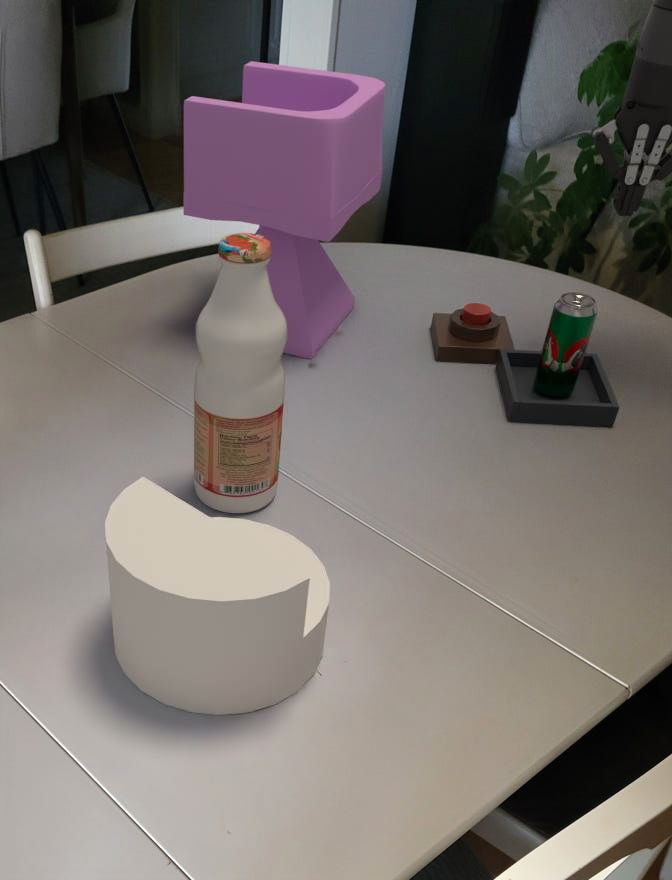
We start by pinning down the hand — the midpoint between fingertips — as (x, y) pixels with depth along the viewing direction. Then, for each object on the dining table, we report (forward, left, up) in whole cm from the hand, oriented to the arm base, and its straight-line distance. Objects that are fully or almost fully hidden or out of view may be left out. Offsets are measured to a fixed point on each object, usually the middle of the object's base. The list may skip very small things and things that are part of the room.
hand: (623, 213), depth 120 cm
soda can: (+6, +11, -18) cm, 22 cm away
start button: (+15, -2, -15) cm, 21 cm away
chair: (+42, -7, -19) cm, 46 cm away
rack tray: (+6, +11, -19) cm, 23 cm away
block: (+15, -2, -19) cm, 24 cm away
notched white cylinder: (+45, +60, -19) cm, 78 cm away
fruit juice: (+45, +36, -19) cm, 61 cm away
